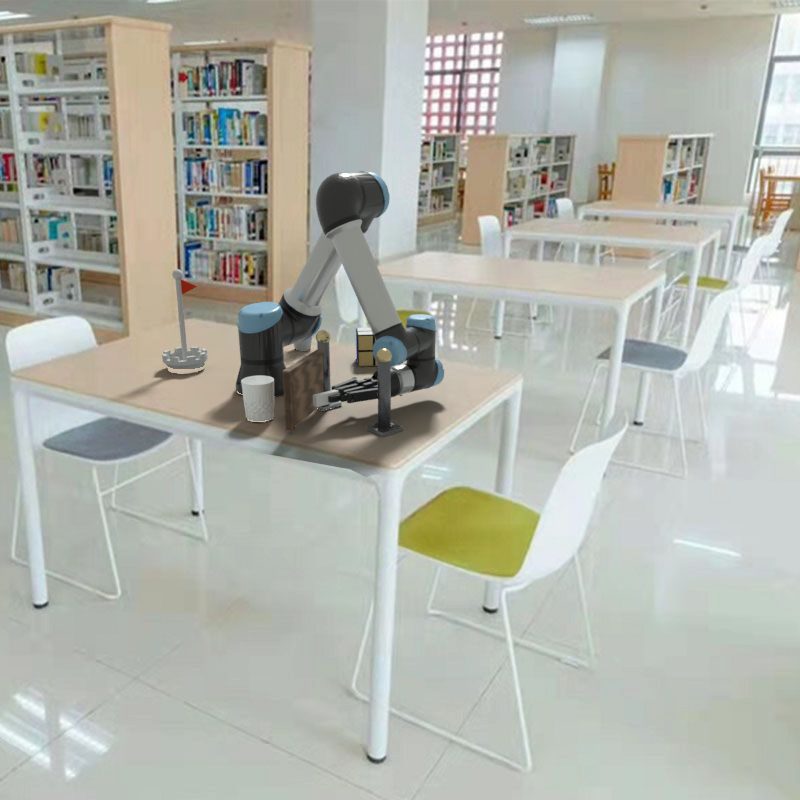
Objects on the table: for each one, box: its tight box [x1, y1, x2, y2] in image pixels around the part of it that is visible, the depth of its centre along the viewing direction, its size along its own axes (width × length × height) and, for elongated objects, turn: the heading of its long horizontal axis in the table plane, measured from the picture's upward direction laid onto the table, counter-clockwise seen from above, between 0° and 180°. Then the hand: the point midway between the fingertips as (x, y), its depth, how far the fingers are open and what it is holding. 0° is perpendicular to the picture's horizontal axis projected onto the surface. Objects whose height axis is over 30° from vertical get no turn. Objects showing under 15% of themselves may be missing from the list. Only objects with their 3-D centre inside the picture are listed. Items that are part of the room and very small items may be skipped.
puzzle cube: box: [355, 327, 378, 368], centre depth 237 cm, size 10×10×10 cm
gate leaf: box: [283, 349, 324, 432], centre depth 185 cm, size 20×2×14 cm, turn 163°
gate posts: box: [315, 329, 403, 438], centre depth 187 cm, size 30×6×20 cm, turn 41°
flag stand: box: [161, 269, 209, 369], centre depth 226 cm, size 13×13×30 cm
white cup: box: [241, 375, 275, 421], centre depth 188 cm, size 8×8×10 cm
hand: (314, 401), depth 180 cm, fingers closed
